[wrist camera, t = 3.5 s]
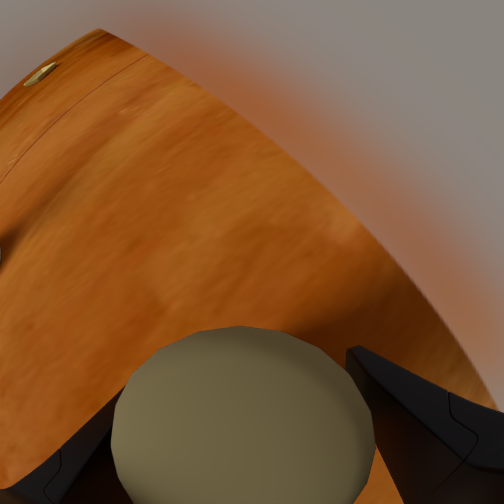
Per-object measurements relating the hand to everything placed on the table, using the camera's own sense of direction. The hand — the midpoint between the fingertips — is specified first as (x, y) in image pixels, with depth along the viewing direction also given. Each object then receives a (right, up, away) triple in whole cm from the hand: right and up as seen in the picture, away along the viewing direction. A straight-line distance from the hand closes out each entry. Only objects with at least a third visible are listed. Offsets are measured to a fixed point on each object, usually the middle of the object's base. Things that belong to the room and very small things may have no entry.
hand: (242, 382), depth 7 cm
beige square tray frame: (-59, +53, +38) cm, 87 cm away
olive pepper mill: (+1, -4, +6) cm, 7 cm away
